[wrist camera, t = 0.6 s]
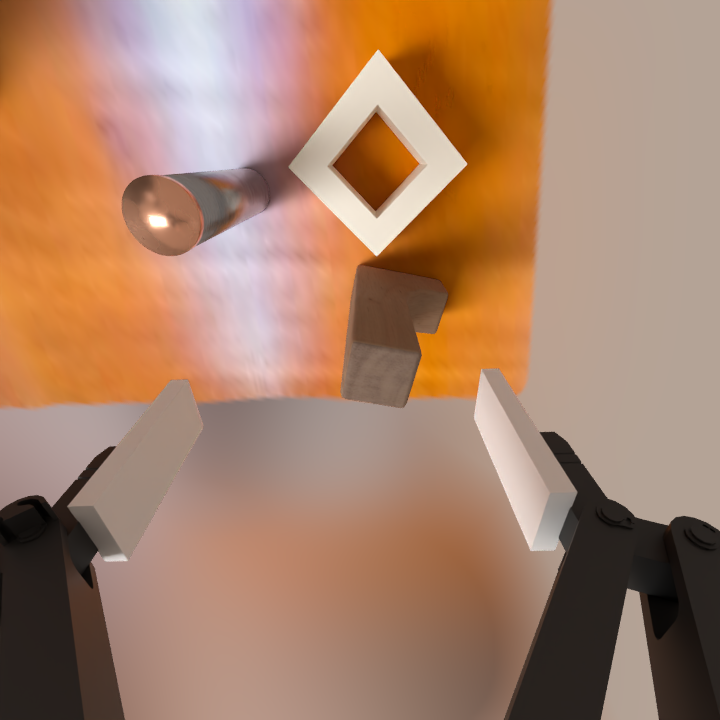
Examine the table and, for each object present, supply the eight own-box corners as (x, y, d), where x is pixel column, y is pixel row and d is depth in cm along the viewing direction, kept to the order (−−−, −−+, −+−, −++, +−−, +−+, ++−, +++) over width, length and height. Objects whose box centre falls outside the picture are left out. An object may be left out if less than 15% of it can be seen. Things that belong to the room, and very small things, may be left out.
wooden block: (441, 279, 38) (495, 365, 22) (429, 318, 40) (470, 422, 24) (357, 263, 37) (351, 340, 21) (350, 303, 39) (339, 400, 24)
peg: (218, 192, 34) (108, 218, 20) (243, 157, 32) (144, 156, 18) (253, 224, 35) (175, 270, 21) (279, 191, 34) (214, 216, 19)
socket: (298, 165, 33) (287, 167, 28) (376, 65, 29) (378, 49, 25) (375, 244, 36) (376, 256, 32) (453, 163, 32) (467, 164, 28)
